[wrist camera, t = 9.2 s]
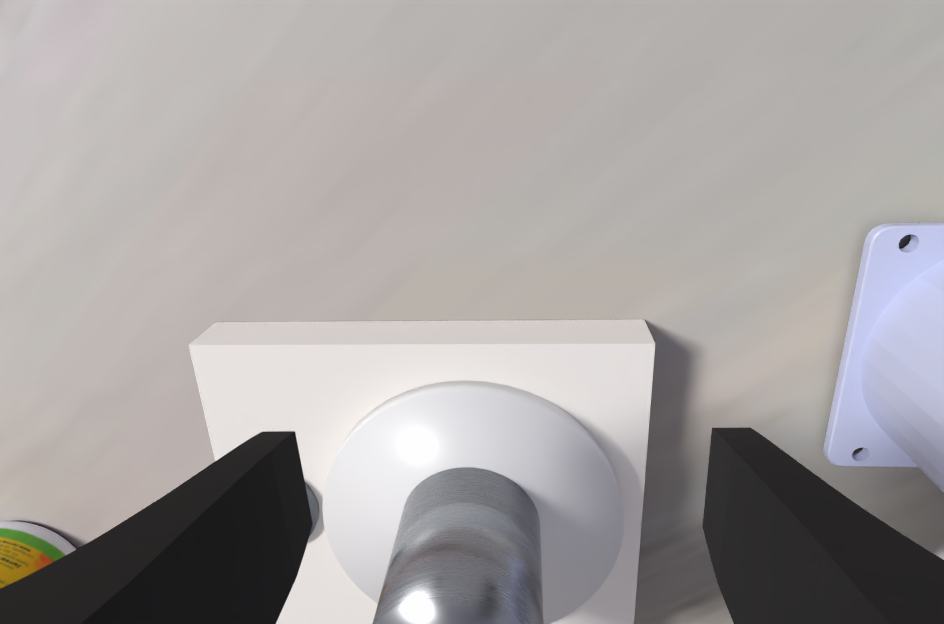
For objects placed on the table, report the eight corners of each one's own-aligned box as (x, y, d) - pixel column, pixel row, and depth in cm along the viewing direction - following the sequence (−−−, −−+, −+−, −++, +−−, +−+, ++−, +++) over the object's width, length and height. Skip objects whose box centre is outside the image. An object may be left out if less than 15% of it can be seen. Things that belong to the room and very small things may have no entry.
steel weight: (537, 465, 19) (541, 598, 14) (542, 578, 20) (548, 730, 16) (394, 468, 19) (353, 597, 15) (410, 577, 21) (377, 725, 16)
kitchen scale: (644, 319, 19) (660, 355, 17) (624, 607, 24) (635, 668, 22) (215, 322, 21) (175, 356, 18) (272, 595, 25) (246, 651, 23)
